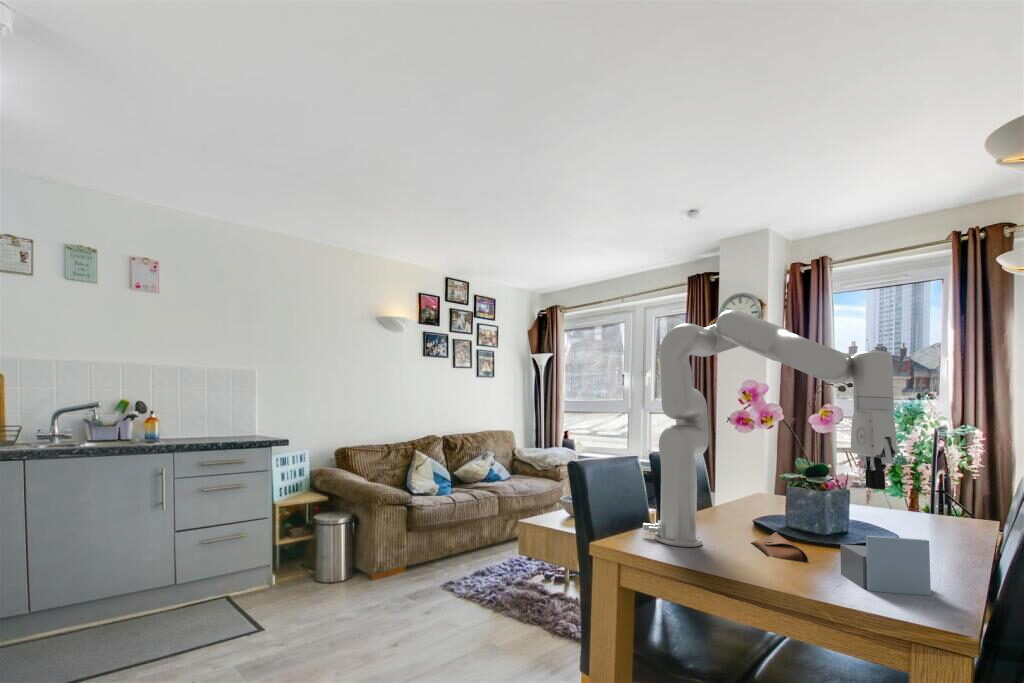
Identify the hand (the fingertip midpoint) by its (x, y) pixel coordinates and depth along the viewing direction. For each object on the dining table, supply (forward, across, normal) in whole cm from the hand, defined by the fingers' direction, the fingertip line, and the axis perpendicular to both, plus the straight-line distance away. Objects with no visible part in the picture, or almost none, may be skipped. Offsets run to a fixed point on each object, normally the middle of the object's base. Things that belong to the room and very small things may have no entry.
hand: (875, 488), depth 117 cm
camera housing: (+21, 0, +1) cm, 21 cm away
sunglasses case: (+22, -21, -13) cm, 33 cm away
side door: (+20, +6, +1) cm, 21 cm away
